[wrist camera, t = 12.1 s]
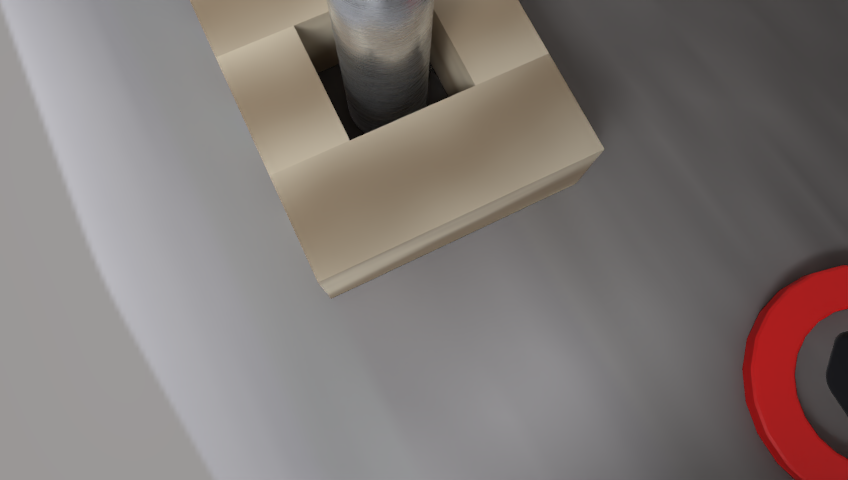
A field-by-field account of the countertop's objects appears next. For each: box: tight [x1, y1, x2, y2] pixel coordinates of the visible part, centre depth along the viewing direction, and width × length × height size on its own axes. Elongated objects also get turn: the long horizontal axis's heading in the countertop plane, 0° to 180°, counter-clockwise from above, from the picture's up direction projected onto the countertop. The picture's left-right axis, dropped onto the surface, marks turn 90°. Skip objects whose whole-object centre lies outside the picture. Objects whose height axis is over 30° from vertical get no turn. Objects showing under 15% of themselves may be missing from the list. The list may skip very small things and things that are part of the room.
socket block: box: [190, 0, 604, 299], centre depth 23 cm, size 12×10×4 cm
